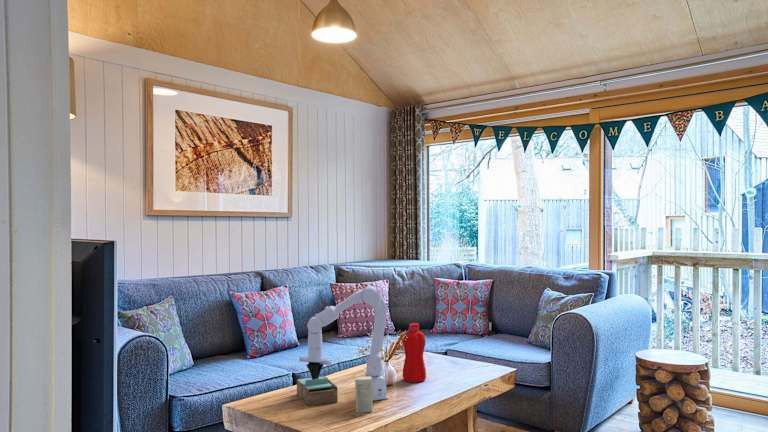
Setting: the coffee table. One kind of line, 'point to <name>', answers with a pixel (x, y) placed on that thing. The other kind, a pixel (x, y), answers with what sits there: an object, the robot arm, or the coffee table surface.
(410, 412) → the coffee table surface
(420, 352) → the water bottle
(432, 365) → the coffee table surface
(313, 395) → the box
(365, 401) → the skincare box
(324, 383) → the lid
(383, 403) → the coffee table surface
